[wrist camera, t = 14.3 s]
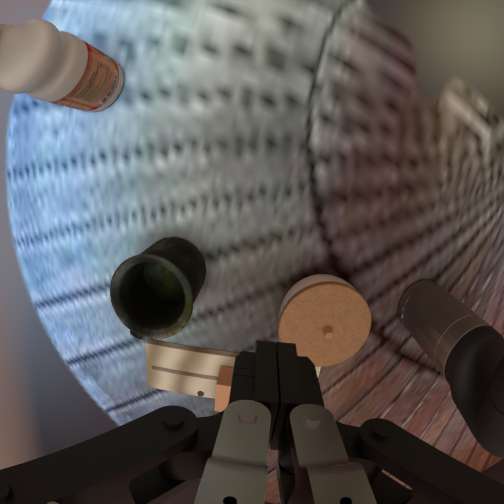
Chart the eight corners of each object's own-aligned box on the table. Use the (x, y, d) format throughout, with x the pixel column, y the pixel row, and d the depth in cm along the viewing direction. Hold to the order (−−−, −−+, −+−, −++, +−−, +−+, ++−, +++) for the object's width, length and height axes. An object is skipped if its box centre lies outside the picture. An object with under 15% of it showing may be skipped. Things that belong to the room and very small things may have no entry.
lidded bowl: (312, 349, 50) (322, 390, 40) (258, 302, 48) (257, 337, 38) (369, 299, 48) (393, 332, 37) (318, 245, 46) (335, 268, 35)
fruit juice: (77, 119, 42) (-57, 101, 14) (76, 70, 39) (-44, 25, 12) (127, 104, 41) (-3, 57, 14) (124, 52, 39) (14, -23, 12)
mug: (222, 255, 47) (209, 284, 35) (181, 328, 50) (161, 370, 38) (159, 220, 46) (127, 237, 34) (125, 296, 49) (93, 329, 37)
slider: (250, 369, 50) (248, 388, 45) (246, 395, 51) (244, 414, 46) (220, 366, 50) (216, 384, 45) (218, 392, 51) (214, 410, 46)
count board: (320, 360, 51) (321, 365, 49) (308, 401, 53) (309, 407, 52) (148, 338, 51) (144, 343, 49) (150, 381, 53) (148, 387, 52)
